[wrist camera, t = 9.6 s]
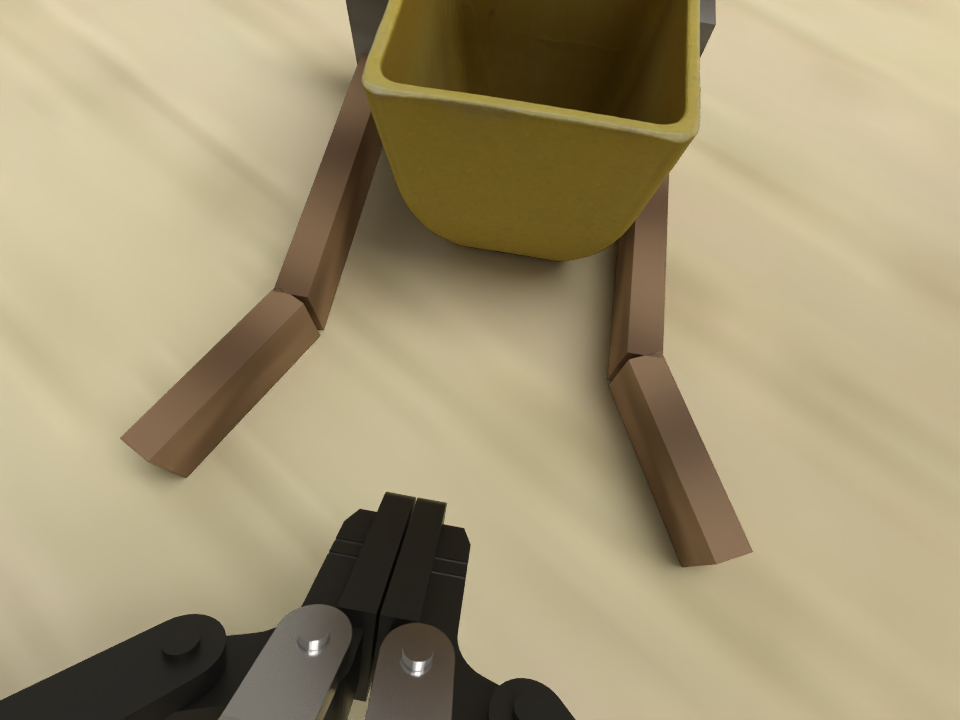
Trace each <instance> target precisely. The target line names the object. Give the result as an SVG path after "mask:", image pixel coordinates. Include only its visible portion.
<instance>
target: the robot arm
mask: <svg viewBox="0 0 960 720" xmlns="http://www.w3.org/2000/svg"><path fill="white" fill-rule="evenodd" d="M415 502H416V504H415ZM446 506H447V503H445V502H439V501H434V500H428V499H423V498H417V501H416V497H412V496H406V495H401V494H396V493H390V492H386V493H385V495H384V497H383V499H382V502H381V504H380V507H379V509H378V511H377V512H374V511H368V510H363V509H359V510H358V511H357V512H355V513H354V514H353V515H352V516H350V517H349V518H348V519H346V520H345V521H344V523H343V525H342V527H341V529H340V531H339V533H338V535H337V537H336V540H335V541H334V543H333V545H332V547H331V549H330V551H329V554H328V555H327V557H326V559H325V561H324V563H323V565H322V567H321V569H320V571H319V573H318V575H317V577H316V579H315V581H314V583H313V585H312V587H311V589H310V591H309V593H308V595H307V597H306V599H305V601H304V603H303V605H302V606H301V608H298V609H296V610H294V611H292V612H291V613H289V614H288V615H287V616H285V617H284V618H283V619H282V620H281V622H280V623H279V624H278V626H277V627H276V628H273V629H271V630H267V631H264V632H258V633H251V634H241V635H231V636H226V633H225V630H224V628H223V626H222V625H221V623H220V622H219V621H217V620H216V619H214V618H212V617H210V616H206V615H200V614H189V615H183V616H179V617H175V618H173V619H170V620H168V621H165V622H163V623H161V624H159V625H157V626H155V627H153V628H151V629H149V630H147V631H145V632H142V633H140V634H138V635H136V636H134V637H132V638H130V639H128V640H126V641H124V642H122V643H119V644H117V645H115V646H113V647H111V648H109V649H107V650H105V651H103V652H101V653H99V654H96V655H94V656H92V657H90V658H88V659H86V660H84V661H82V662H80V663H78V664H76V665H74V666H71V667H69V668H67V669H65V670H63V671H61V672H59V673H57V674H55V675H53V676H51V677H48V678H46V679H44V680H42V681H40V682H38V683H36V684H34V685H32V686H30V687H28V688H25V689H23V690H21V691H19V692H17V693H15V694H13V695H11V696H9V697H7V698H5V699H2V700H0V720H347V718H348V715H349V712H350V709H351V705H352V702H353V699H355V700H360V701H365V702H366V699H367V696H368V693H369V689H370V686H371V692H370V699H369V703H368V708H367V713H366V718H365V720H575V718H574V717H573V716H572V714H571V713H570V712H569V710H568V709H567V708H566V707H565V705H564V704H563V703H562V701H561V700H560V699H559V697H558V696H557V695H556V694H555V693H554V692H553V691H552V690H551V689H550V688H548V687H547V686H545V685H544V684H542V683H540V682H538V681H535V680H531V679H526V678H516V679H511V680H509V681H506V682H504V683H503V684H501V685H500V686H499V685H497V684H496V683H494V682H492V681H490V680H488V679H486V678H485V677H483V676H481V675H480V674H478V673H477V672H475V671H474V670H473V669H472V668H471V667H470V666H469V665H468V664H467V663H466V661H465V660H464V658H463V657H462V654H461V652H460V650H459V646H458V640H457V636H458V627H459V620H460V614H461V607H462V600H463V593H464V586H465V579H466V572H467V565H468V559H469V552H470V542H469V540H468V537H467V535H466V532H465V530H464V528H460V527H454V526H449V525H444V518H445V512H446ZM371 683H372V684H371Z"/></svg>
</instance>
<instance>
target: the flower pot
mask: <svg viewBox="0 0 960 720" xmlns="http://www.w3.org/2000/svg"><path fill="white" fill-rule="evenodd" d="M699 71H700V0H389V1H388V4H387V7H386V10H385V13H384V16H383V18H382V21H381V23H380V25H379V27H378V30H377V33H376V36H375V39H374V42H373V44H372V47H371V50H370V52H369V55H368V58H367V60H366V63H365V67H364V71H363V75H362V79H361V82H362V85H363V89H364V92H365V94H366V97H367V100H368V103H369V106H370V109H371V112H372V115H373V118H374V121H375V124H376V127H377V130H378V133H379V135H380V138H381V141H382V144H383V147H384V150H385V153H386V156H387V159H388V161H389V164H390V167H391V170H392V173H393V176H394V178H395V181H396V184H397V186H398V189H399V191H400V193H401V195H402V197H403V199H404V201H405V202H406V204H407V206H408V207H409V209H410V210H411V212H412V213H413V214H414V215H415V216H416V218H417V219H418V220H419V221H420V222H421V223H422V224H423V225H425V226H426V227H427V228H428V229H430V230H431V231H432V232H434V233H435V234H437V235H439V236H441V237H443V238H445V239H447V240H449V241H450V242H452V243H455V244H457V245H462V246H468V247H474V248H480V249H487V250H494V251H501V252H507V253H513V254H519V255H525V256H531V257H537V258H542V259H548V260H554V261H566V260H573V259H579V258H584V257H587V256H590V255H593V254H595V253H597V252H599V251H601V250H603V249H605V248H606V247H608V246H610V245H611V244H613V243H614V242H615V241H616V240H617V239H619V238H620V237H621V236H622V235H623V234H624V233H625V232H626V231H627V230H628V229H629V227H630V226H631V225H632V224H633V222H634V221H635V220H636V218H637V217H638V216H639V214H640V213H641V211H642V210H643V209H644V207H645V206H646V204H647V203H648V201H649V200H650V199H651V197H652V196H653V195H654V193H655V192H656V191H657V189H658V188H659V186H660V185H661V183H662V182H663V180H664V179H665V178H666V176H667V175H668V174H669V172H670V171H671V170H672V168H673V167H674V165H675V164H676V163H677V161H678V160H679V158H680V157H681V155H682V154H683V153H684V151H685V150H686V148H687V147H688V145H689V144H690V143H691V141H692V140H693V139H694V137H695V136H696V135H697V133H698V130H699V126H700V92H701V89H700V72H699Z"/></svg>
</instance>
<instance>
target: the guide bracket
mask: <svg viewBox="0 0 960 720" xmlns="http://www.w3.org/2000/svg"><path fill="white" fill-rule="evenodd" d="M388 1H389V0H346V4H347V10H348V15H349V21H350V26H351V32H352V38H353V43H354V49H355V54H356V60H357V68H356V70H355V73H354V76H353V78H352V81H351V84H350V87H349V89H348V92H347V95H346V97H345V100H344V103H343V105H342V108H341V111H340V113H339V116H338V119H337V121H336V124H335V127H334V129H333V132H332V135H331V137H330V140H329V143H328V146H327V148H326V151H325V154H324V156H323V159H322V162H321V164H320V167H319V170H318V172H317V175H316V178H315V180H314V183H313V186H312V188H311V191H310V194H309V196H308V199H307V202H306V205H305V207H304V210H303V213H302V215H301V218H300V221H299V223H298V226H297V229H296V231H295V234H294V237H293V239H292V242H291V245H290V247H289V250H288V253H287V255H286V258H285V261H284V264H283V266H282V269H281V272H280V274H279V277H278V280H277V282H276V285H275V288H274V289H273V290H272V291H271V292H270V293H269V294H268V295H267V296H266V297H264V298H263V299H262V300H261V301H260V302H259V303H258V304H257V305H256V306H255V307H254V308H253V309H252V310H251V311H250V312H249V313H248V314H247V315H246V316H245V317H244V318H243V319H242V320H241V321H240V322H239V323H238V324H237V325H236V326H235V327H234V328H233V329H232V330H231V331H230V332H229V333H228V334H226V335H225V336H224V337H223V338H222V339H221V340H220V341H219V342H218V343H217V344H216V345H215V346H214V347H213V348H212V349H211V350H210V351H209V352H208V353H207V354H206V355H205V356H204V357H203V358H202V359H201V360H200V361H199V362H198V363H197V364H196V365H195V366H194V367H193V368H192V369H191V370H190V371H189V372H187V373H186V374H185V375H184V376H183V377H182V378H181V379H180V380H179V381H178V382H177V383H176V384H175V385H174V386H173V387H172V388H171V389H170V390H169V391H168V392H167V393H166V394H165V395H164V396H163V397H162V398H161V399H160V400H159V401H158V402H157V403H156V404H155V405H154V406H153V407H152V408H151V409H150V410H148V411H147V412H146V413H145V414H144V415H143V416H142V417H141V418H140V419H139V420H138V421H137V422H136V423H135V424H134V425H133V426H132V427H131V428H130V429H129V430H128V431H127V432H126V433H125V434H124V435H123V436H122V437H121V438H120V439H121V440H122V441H124V442H125V443H126V444H127V445H128V446H130V447H131V448H132V449H133V450H134V451H135V452H137V453H138V454H139V455H140V456H141V457H143V458H144V459H145V460H146V461H147V462H150V463H152V464H154V465H157V466H159V467H162V468H164V469H166V470H169V471H171V472H174V473H176V474H178V475H181V476H183V477H186V478H187V476H188V475H189V474H190V473H191V472H192V471H193V470H194V469H195V468H196V467H197V466H198V465H199V464H200V463H201V462H202V461H203V460H204V458H205V457H206V456H207V455H208V454H209V453H210V452H211V451H212V450H213V449H214V448H215V447H216V446H217V445H218V444H219V443H220V441H221V440H222V439H223V438H224V437H225V436H226V435H227V434H228V433H229V432H230V431H231V430H232V429H233V428H234V427H235V426H236V424H237V423H238V422H239V421H240V420H241V419H242V418H243V417H244V416H245V415H246V414H247V413H248V412H249V411H250V410H251V409H252V407H253V406H254V405H255V404H256V403H257V402H258V401H259V400H260V399H261V398H262V397H263V396H264V395H265V394H266V393H267V392H268V390H269V389H270V388H271V387H272V386H273V385H274V384H275V383H276V382H277V381H278V380H279V379H280V378H281V377H282V376H283V375H284V373H285V372H286V371H287V370H288V369H289V368H290V367H291V366H292V365H293V364H294V363H295V362H296V361H297V360H298V359H299V358H300V356H301V355H302V354H303V353H304V352H305V351H306V350H307V349H308V348H309V347H310V346H311V345H312V344H313V343H314V342H315V341H316V339H317V338H318V337H319V336H320V334H319V332H318V330H317V329H322V330H324V327H325V324H326V321H327V318H328V315H329V312H330V308H331V305H332V302H333V299H334V296H335V293H336V290H337V286H338V283H339V280H340V277H341V274H342V271H343V268H344V264H345V261H346V258H347V255H348V252H349V249H350V246H351V242H352V239H353V236H354V233H355V230H356V227H357V224H358V221H359V217H360V214H361V211H362V208H363V205H364V202H365V199H366V195H367V192H368V189H369V186H370V183H371V180H372V177H373V173H374V170H375V167H376V164H377V161H378V158H379V155H380V151H381V148H382V145H383V144H382V141H381V138H380V135H379V133H378V130H377V127H376V124H375V121H374V118H373V115H372V112H371V109H370V106H369V103H368V100H367V97H366V94H365V92H364V89H363V85H362V82H361V79H362V75H363V71H364V67H365V63H366V60H367V58H368V55H369V52H370V50H371V47H372V44H373V42H374V39H375V36H376V33H377V30H378V27H379V25H380V23H381V21H382V18H383V16H384V13H385V10H386V7H387V4H388ZM715 25H716V11H715V0H700V57H701V55H702V53H703V51H704V48H705V46H706V44H707V42H708V40H709V38H710V36H711V34H712V31H713V29H714V27H715ZM668 185H669V174H668V175H667V176H666V178H665V179H664V180H663V182H662V183H661V185H660V186H659V188H658V189H657V191H656V192H655V193H654V195H653V196H652V197H651V199H650V200H649V201H648V203H647V204H646V206H645V207H644V209H643V210H642V211H641V213H640V214H639V216H638V217H637V218H636V220H635V221H634V222H633V224H632V225H631V226H630V227H629V229H628V230H627V231H626V232H625V233H624V234H623V235H622V236H621V237H620V238H619V239H618V249H617V262H616V275H615V288H614V300H613V313H612V326H611V339H610V352H609V365H608V378H607V379H611V380H612V382H611V383H610V384H609V388H610V391H611V393H612V395H613V398H614V400H615V403H616V405H617V408H618V410H619V413H620V415H621V418H622V420H623V423H624V425H625V427H626V430H627V432H628V435H629V437H630V440H631V442H632V445H633V447H634V450H635V452H636V455H637V457H638V459H639V462H640V464H641V467H642V469H643V472H644V474H645V477H646V479H647V482H648V484H649V487H650V489H651V492H652V494H653V496H654V499H655V501H656V504H657V506H658V509H659V511H660V514H661V516H662V519H663V521H664V524H665V526H666V528H667V531H668V533H669V536H670V538H671V541H672V543H673V546H674V548H675V551H676V553H677V556H678V558H679V561H680V563H681V565H682V567H690V566H701V565H712V564H718V563H721V562H724V561H727V560H730V559H733V558H736V557H739V556H742V555H745V554H748V553H751V552H753V551H752V548H751V546H750V544H749V542H748V540H747V538H746V535H745V533H744V531H743V529H742V527H741V524H740V522H739V520H738V518H737V516H736V514H735V511H734V509H733V507H732V505H731V503H730V500H729V498H728V496H727V494H726V492H725V489H724V487H723V485H722V483H721V481H720V479H719V476H718V474H717V472H716V470H715V468H714V465H713V463H712V461H711V459H710V457H709V455H708V452H707V450H706V448H705V446H704V444H703V441H702V439H701V437H700V435H699V433H698V430H697V428H696V426H695V424H694V422H693V420H692V417H691V415H690V413H689V411H688V409H687V406H686V404H685V402H684V400H683V398H682V395H681V393H680V391H679V389H678V387H677V385H676V382H675V380H674V378H673V376H672V374H671V371H670V369H669V367H668V365H667V363H666V361H665V358H664V356H663V335H664V305H665V275H666V245H667V215H668Z"/></svg>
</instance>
